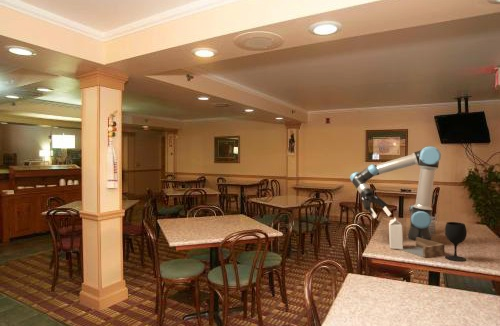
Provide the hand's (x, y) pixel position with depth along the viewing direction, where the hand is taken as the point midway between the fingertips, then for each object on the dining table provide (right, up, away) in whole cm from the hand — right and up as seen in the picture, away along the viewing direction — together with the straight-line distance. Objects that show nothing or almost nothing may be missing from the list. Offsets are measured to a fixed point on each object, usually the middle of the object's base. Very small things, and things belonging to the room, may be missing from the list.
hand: (383, 216), depth 215 cm
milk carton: (+5, -19, -8) cm, 21 cm away
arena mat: (+16, -19, -17) cm, 30 cm away
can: (+46, -18, +32) cm, 59 cm away
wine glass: (+29, -19, -30) cm, 46 cm away
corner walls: (+16, -19, -16) cm, 30 cm away
